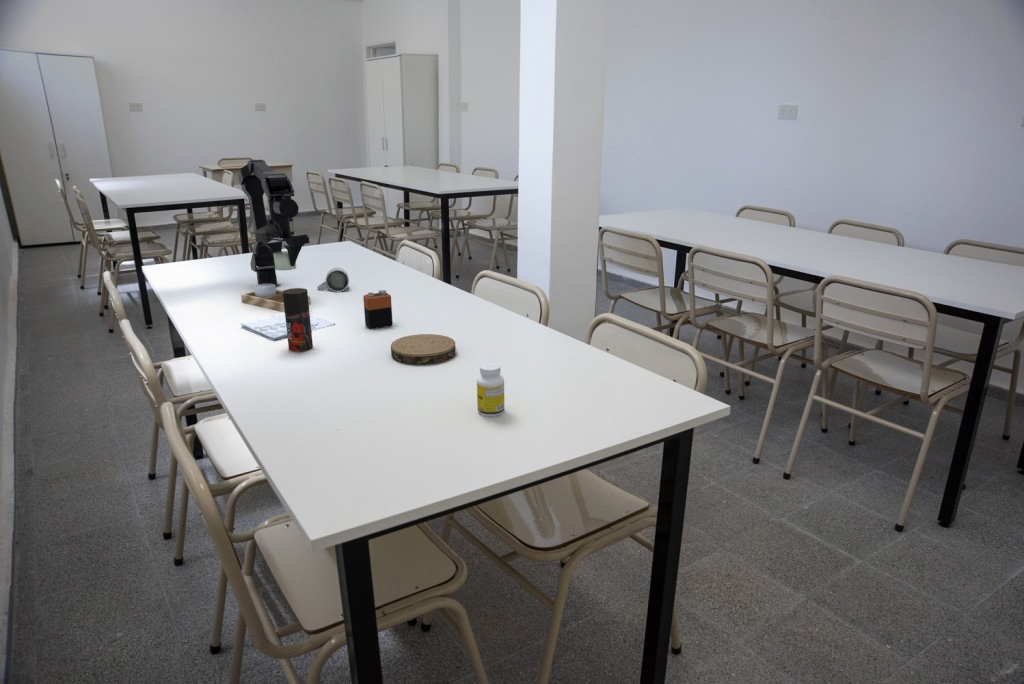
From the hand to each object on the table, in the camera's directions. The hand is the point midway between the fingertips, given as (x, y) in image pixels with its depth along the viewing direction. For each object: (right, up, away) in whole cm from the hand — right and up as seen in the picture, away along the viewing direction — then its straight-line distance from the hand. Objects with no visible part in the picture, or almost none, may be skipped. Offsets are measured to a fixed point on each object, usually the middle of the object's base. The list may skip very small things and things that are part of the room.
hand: (285, 265), depth 210 cm
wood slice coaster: (+50, -28, -44) cm, 72 cm away
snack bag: (+9, -20, -22) cm, 31 cm away
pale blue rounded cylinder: (-7, -11, +2) cm, 13 cm away
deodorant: (+18, -26, -40) cm, 51 cm away
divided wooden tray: (-3, -12, -1) cm, 13 cm away
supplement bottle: (+67, -38, -77) cm, 109 cm away
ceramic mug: (+11, -7, +18) cm, 22 cm away
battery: (+34, -20, -22) cm, 45 cm away
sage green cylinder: (0, -1, 0) cm, 1 cm away
